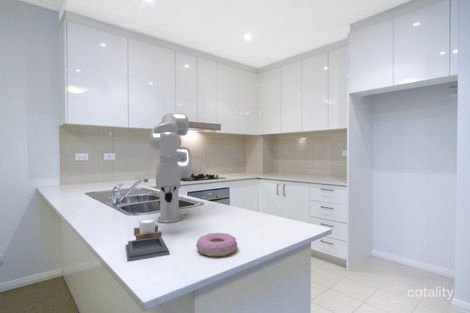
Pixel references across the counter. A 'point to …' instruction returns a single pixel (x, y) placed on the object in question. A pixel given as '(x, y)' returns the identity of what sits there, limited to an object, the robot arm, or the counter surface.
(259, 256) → the counter surface
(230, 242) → the donut
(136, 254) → the cradle
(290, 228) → the counter surface
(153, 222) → the white cup
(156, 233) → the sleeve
